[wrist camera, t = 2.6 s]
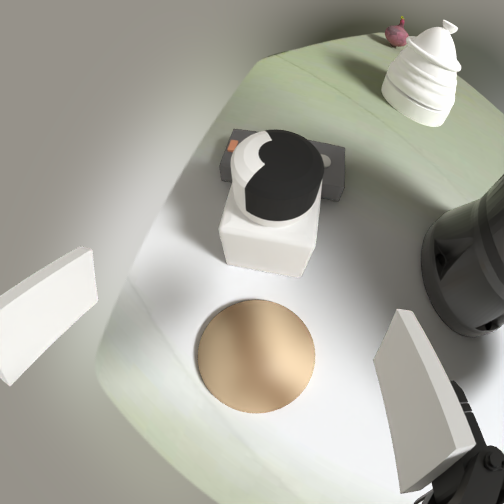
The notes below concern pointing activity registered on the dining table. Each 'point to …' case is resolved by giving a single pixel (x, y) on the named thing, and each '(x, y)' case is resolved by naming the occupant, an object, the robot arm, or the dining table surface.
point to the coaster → (256, 356)
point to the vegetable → (397, 34)
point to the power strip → (330, 153)
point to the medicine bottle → (272, 203)
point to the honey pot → (424, 76)
